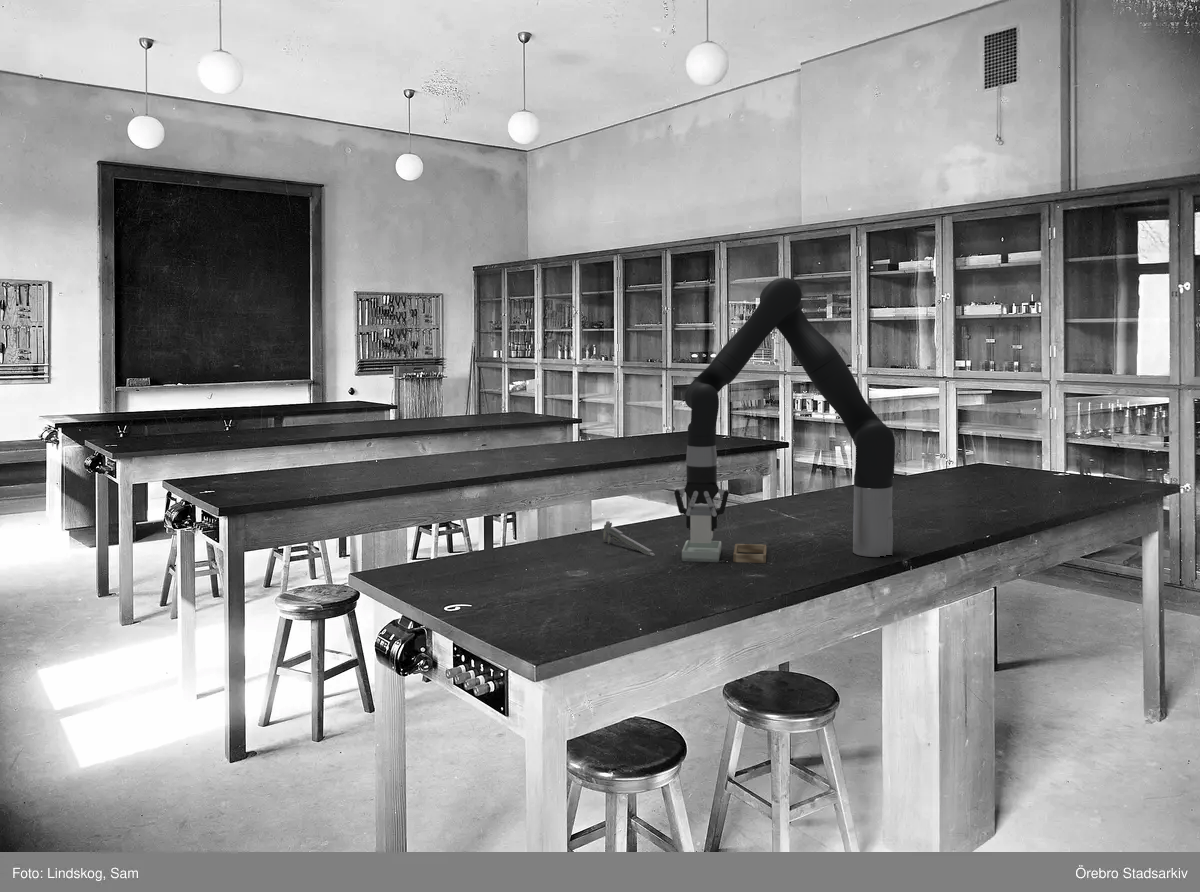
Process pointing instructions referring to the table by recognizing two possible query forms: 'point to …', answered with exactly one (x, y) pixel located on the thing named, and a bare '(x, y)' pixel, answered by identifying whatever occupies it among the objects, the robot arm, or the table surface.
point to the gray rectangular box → (701, 524)
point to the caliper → (622, 539)
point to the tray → (701, 551)
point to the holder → (750, 557)
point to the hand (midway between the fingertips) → (701, 529)
